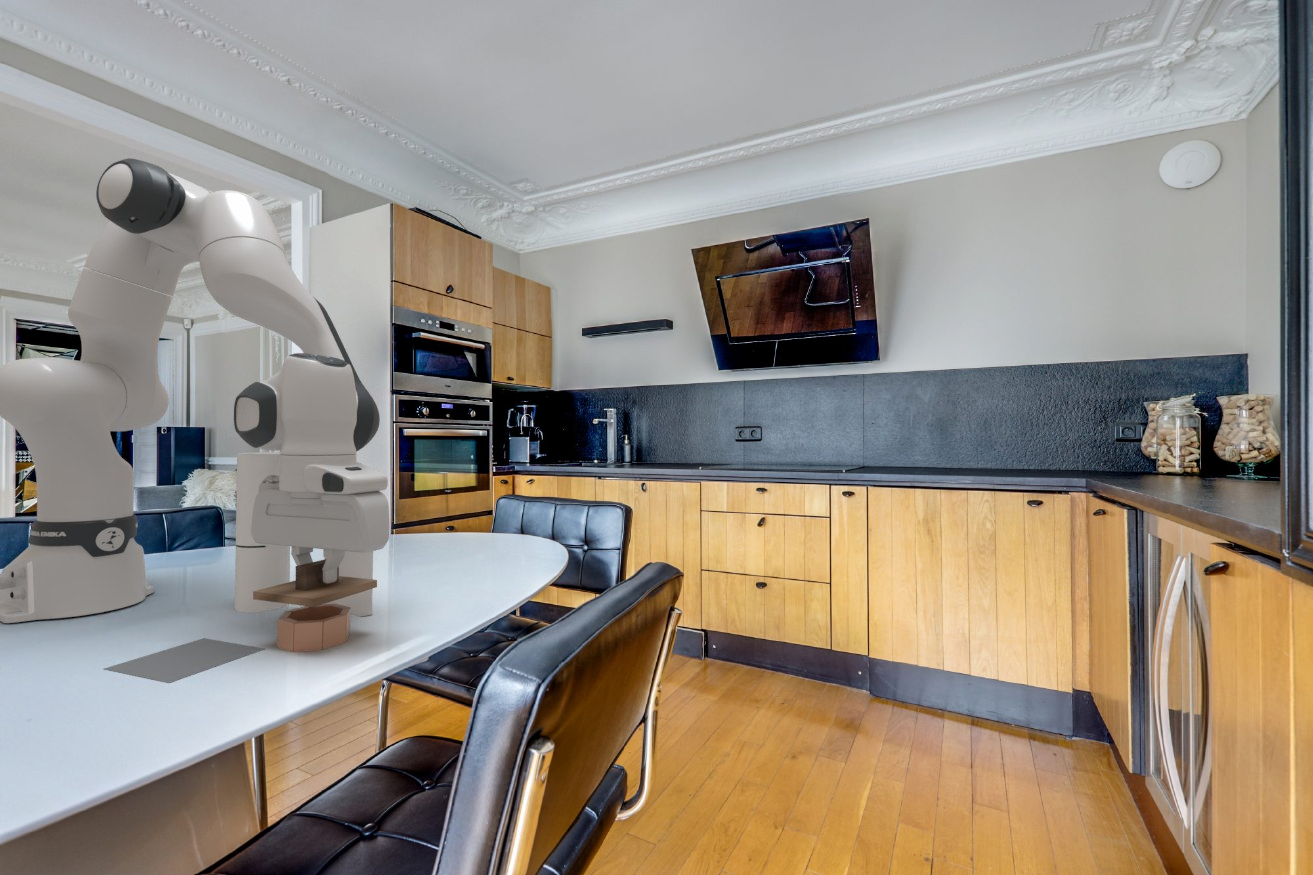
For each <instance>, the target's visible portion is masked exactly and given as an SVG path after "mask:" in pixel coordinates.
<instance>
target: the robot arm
mask: <svg viewBox="0 0 1313 875" xmlns="http://www.w3.org/2000/svg"><path fill="white" fill-rule="evenodd" d="M95 196H96V201H97V205H98V208H99V210H100V212H101V214H102V215H103V216H104V218H106V219H107V220H108V222H107V223H106V224H105V225H104V227H103V229H102V230H101V232H100V233H99V235H98V236H97V238H96V240H95V242H94V243H93V246H92V248H91V250H90V251H89V254H88V256H87V257H86V261H85V263H84V266H83V268H82V270H81V274H80V276H79V280H78V282H77V285H76V287H75V290H74V293H73V296H72V299H71V302H70V304H69V307H68V310H67V316H68V319H69V321H70V323H71V325H72V326H74V327H75V329H76V330H77V331H78V333H79V337H80V341H81V356H80V360H76V359H69V358H62V357H55V356H51V357H50V356H48V357H47V356H46V357H31V358H21V359H15V360H11V361H9V362H6V363H4V364H2V365H1V366H0V417H1V418H2V419H3V420H4V421H5V422H6V421H7V422H8V423H9V424H10V425H11V426H13V427H14V429H15V430H16V431H17V432H18V434H19V435H20V436H21V438H22V441H24V444H25V445H26V447H27V449H28V451H29V454H30V456H31V460H32V462H33V465H34V471H35V477H36V478H35V479H36V520H34V521H33V522H32V523H29V526H31V529H29V533H28V535H29V536H28V540H27V543H28V544H29V545H28V546H27V547H26V548H25V550H23V551H22V552H21V553H20V554H19V555H18V556H16V557H15V559H12V561H11V562H10V563H9V564H7V565H6V566H4V568H3V569H2V570H1V573H0V622H1V623H4V624H11V623H12V624H15V623H20V622H30V621H36V620H51V619H63V618H64V619H65V618H72V617H80V616H81V617H82V616H87V615H93V614H100V613H104V612H109V611H110V612H111V611H114V610H119V609H123V608H126V607H130V606H133V605H136V604H138V603H140V602H143V601H144V600H145V599H146V598H147V596H148V595H152V594H153V593H155V588H154V586H153V585H148V583H147V574H146V573H147V571H146V561H145V550H144V548H143V546H142V545H141V544H138V543H137V541H136V540H135V538H136V536H138V535H137V534H138V531H137V530H138V525H139V524H138V520H137V519H138V518H137V515H136V514H134V497H135V496H134V494H135V493H134V492H135V490H134V488H135V483H134V481H135V472H134V471H135V470H134V469H133V467H132V465H131V464H130V463H129V462H128V461H126V460H125V459H124V458H122V456H121V455H120V454H119V452H118V451H117V448H116V446H115V443H114V441H113V439H112V435H111V432H128V431H133V430H138V429H142V428H145V427H149V426H152V425H154V424H156V423H158V422H159V421H161V419H163V417H164V416H165V414H166V412H167V411H168V407H169V402H170V401H169V393H168V392H167V389H166V387H165V386H164V385H163V383H162V381H161V379H160V376H159V375H160V374H159V366H158V350H159V349H158V348H159V341H160V337H161V333H162V330H163V326H164V324H165V320H166V318H167V315H168V311H169V308H170V306H171V303H172V301H173V300H172V299H173V296H174V294H175V291H176V288H177V285H178V280H179V278H180V274H181V272H182V270H183V269H184V268H185V267H186V266H187V265H190V264H192V263H194V262H199V266H200V272H201V276H202V278H203V279H202V280H203V281H204V284H205V286H206V289H207V290H208V293H209V294H210V296H211V297H212V298H213V300H214V301H215V302H216V303H217V304H218V305H220V307H222V308H223V309H224V310H225V311H227V312H229V313H230V314H232V315H234V316H236V317H237V318H240V319H242V320H245V321H247V322H250V323H251V324H255V325H256V326H257V325H258V326H260V327H263V328H265V329H268V330H270V331H272V332H273V333H277V334H278V335H280V336H282V337H284V338H286V339H288V340H289V341H291V342H292V343H293V344H295V345H296V346H297V347H298V348H299V349H300V350H301V351H302V352H297V353H293V354H289V355H287V356H286V357H285V358H284V361H283V362H282V365H281V368H280V370H278V371H277V372H276V373H275V374H273V375H271V376H270V377H268V378H266V379H265V380H262V381H255V382H253V383H250V384H249V385H248V386H246V387H245V388H244V389H243V390H242V391H241V392H240V393H239V394H237V396H236V397H235V400H234V405H233V425H234V430H235V432H236V433H237V435H238V436H239V437H240V438H241V439H242V440H243V441H244V443H246V444H248V446H250V447H252V448H254V449H260V450H264V451H265V450H266V451H279V453H280V454H281V455H279V459H280V460H279V476H278V475H269V476H267V477H266V478H265V479H264V480H263V481H262V483H260V484H259V492H258V494H257V495H256V498H255V502H254V507H253V515H252V524H251V535H252V537H253V539H254V541H255V542H256V543H260V544H271V545H282V546H290V556H292V559H293V561H294V563H295V564H296V565H295V566H298V565H303V564H307V563H311V562H314V560H313V559H312V555H311V553H312V552H314V549H318V550H323V553H322V554H323V557H322V558H324V557H327V559H326V562H325V564H324V566H323V569H319V570H317V575H318V578H317V580H318V582H319V583H327V584H328V583H332V582H335V581H336V580H337V568H338V567H339V565H340V563H341V561H342V559H343V558H344V556H345V551H351V552H362V553H366V552H371V551H373V552H375V551H378V550H379V551H380V550H383V549H384V548H385V547H386V545H387V543H388V542H389V538H390V507H389V501H388V498H387V497H386V495H385V494H384V493H383V492H381V491H385V490H387V488H388V486H389V485H388V483H389V482H388V480H389V479H388V475H386V474H385V473H383V472H380V471H378V470H375V469H373V468H371V467H370V466H369V467H368V466H367V465H365V464H363V463H361V462H358V461H357V452H359V451H361V450H362V449H363V448H364V447H366V446H367V445H368V444H370V442H371V441H372V440H373V438H374V437H375V436H376V434H377V432H378V430H379V428H380V424H381V423H380V422H381V421H380V420H381V419H380V412H379V411H380V410H379V407H378V406H377V404H376V402H375V399H374V398H373V396H372V394H371V393H370V392H369V391H368V389H367V388H366V387H365V384H363V383H362V380H361V379H360V377H359V376H358V374H357V371H356V369H355V366H354V364H353V362H352V360H351V358H350V356H349V354H348V352H347V350H346V348H345V346H344V343H343V342H342V339H341V337H340V335H339V333H338V331H337V329H336V327H335V325H334V323H333V321H332V319H331V317H330V314H329V313H328V312H327V310H326V308H325V307H324V305H323V304H322V303H321V302H320V301H319V300H318V299H317V298H316V297H314V296H313V295H312V294H311V293H310V292H309V291H308V290H307V289H306V287H305V286H304V284H302V283H301V281H300V280H299V278H298V277H297V275H296V274H295V272H294V270H293V268H292V266H291V265H290V262H289V260H288V257H287V254H286V249H285V246H284V244H283V240H282V238H281V236H280V234H279V231H278V230H277V227H276V225H275V224H274V221H273V219H272V217H271V216H270V214H269V211H267V210H268V209H266V206H264V204H262V203H261V202H260V201H259V200H257V199H256V198H254V197H253V196H252V195H249V194H248V193H244V192H241V191H238V190H231V189H222V190H216V191H212V190H210V189H209V188H206V187H204V186H200V185H198V184H196V183H195V182H192V181H189V180H187V179H185V178H183V177H182V176H181V177H180V176H178V175H176V174H173V173H170V172H168V171H167V170H165V169H164V168H162V167H161V166H159V165H157V164H154V163H150V162H148V161H144V160H142V159H141V160H140V159H136V158H129V157H128V158H124V159H121V160H118V161H115V162H113V163H111V164H110V165H109V166H108V167H107V168H106V169H105V170H104V171H103V173H102V174H101V176H100V178H99V180H98V183H97V187H96V194H95ZM266 482H269V483H266Z"/></svg>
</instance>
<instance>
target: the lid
mask: <svg viewBox="0 0 1313 875" xmlns="http://www.w3.org/2000/svg"><path fill="white" fill-rule="evenodd" d="M325 562H326V559H320V560H317V561H313V562H311V563H307V564H303V565H298V566H297V565H295V580H291V581H290V582H288V583H284V584H280V585H276V586H272V587H269V588H265V589H261V590H257V591H253V599H254V600H262V601H270V602H278V603H286V604H289V605H293V606H295V605H296V606H300V607H303V606H309V607H316V606H319V605H322V604H325V603H328V602H332V601H335V600H338V599H341V598H344V597H347V596H351V595H354V594H357V593H360V592H363V591H367V590H370V589H373V590H374V589H376V588H377V587H378V579H374V578H373V579H363V578H354V577H344V576H339V567H338V568H337V580H336V581H335V582H332V583H328V584H327V583H319V582H318V580H317V578H318V575H317V570H319V569H323V566H324V564H325Z"/></svg>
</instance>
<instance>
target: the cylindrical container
mask: <svg viewBox="0 0 1313 875" xmlns="http://www.w3.org/2000/svg"><path fill="white" fill-rule="evenodd" d="M279 455H281V454H280V452H237V453H236V499H235V500H236V502H235V503H236V504H235V505H236V506H235V508H236V509H235V510H236V511H235V513H236V514H235V519H236V520H235V568H234V570H235V571H234V572H235V574H234V610H235V611H236V612H239V613H261V612H267V611H272V610H273V611H274V610H277V609H281V608H284V607H287V608H290V604H286V603H278V602H270V601H262V600H254V599H253V591H257V590H261V589H265V588H269V587H272V586H276V585H280V584H284V583H288V582H291V581H290V580H291V546H282V545H271V544H260V543H256V542H255V541H254V539H253V537H252V535H251V524H252V515H253V507H254V502H255V498H256V495H257V494H258V492H259V484H260V483H262V481H263V480H264V479H265V478H266V477H267V476H269V475H278V476H279V460H280V459H279ZM266 483H269V482H266Z"/></svg>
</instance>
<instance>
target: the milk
mask: <svg viewBox="0 0 1313 875" xmlns="http://www.w3.org/2000/svg"><path fill="white" fill-rule="evenodd" d="M323 558H324V559H327V557H323ZM324 559H323V560H324ZM373 573H374V551H371V552H366V553H362V552H351V551H345V556H344V558H343V559H342V561H341V563H340V565H339V576H344V577H354V578H363V579H373V580H374V574H373ZM373 593H374V588H373V589H370V590H367V591H363V592H360V593H357V594H354V595H351V596H347V597H344V598H341V599H338V600H335V601H332V602H328V603H325V604H339V605H343V606H347V607H351V617H352V616H353V617H359V618H360V617H361V618H362V617H366V616H372V615H373V595H374V594H373Z"/></svg>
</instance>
